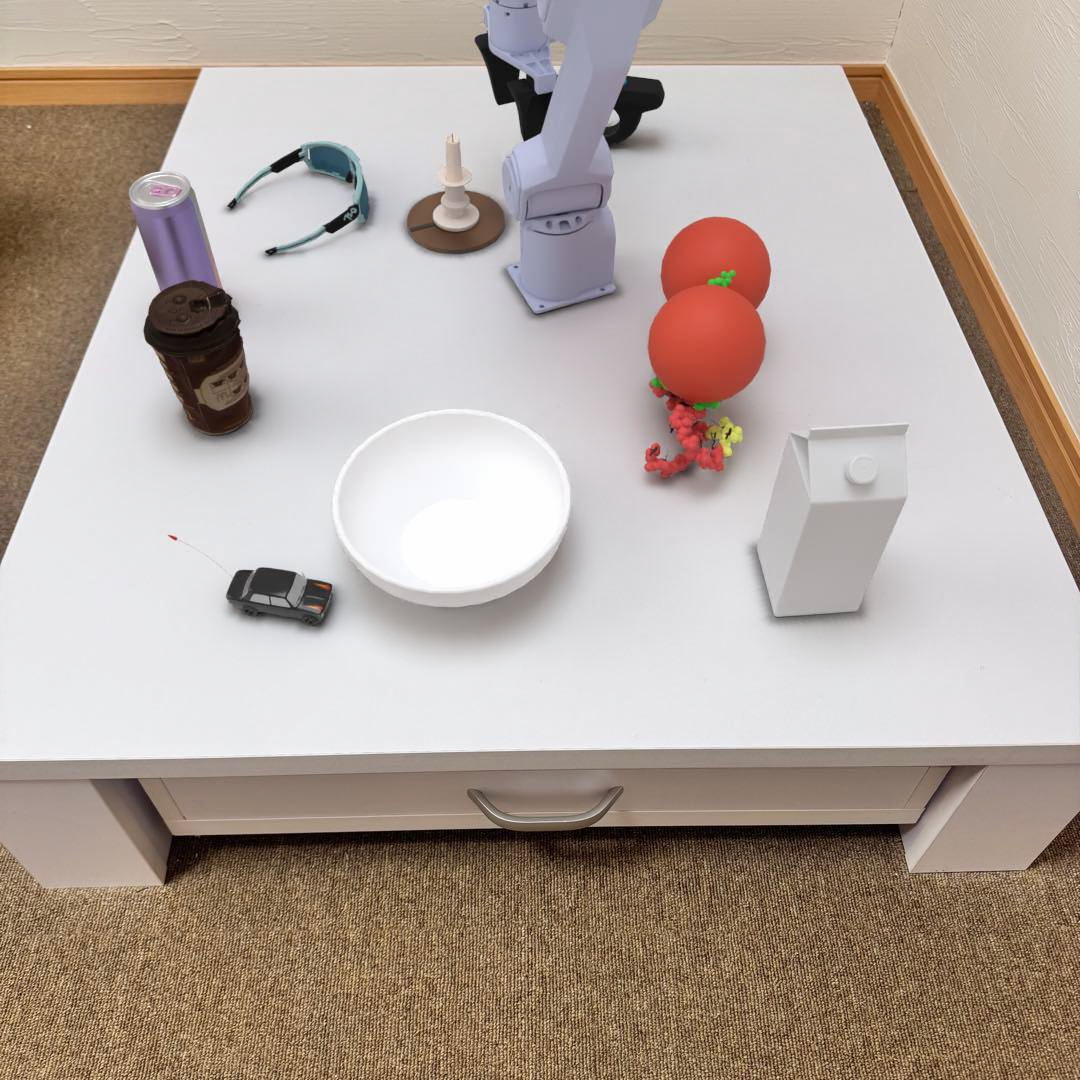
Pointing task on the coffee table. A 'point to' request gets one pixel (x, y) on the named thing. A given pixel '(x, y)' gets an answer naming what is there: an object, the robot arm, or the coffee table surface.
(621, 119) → the controller
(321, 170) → the sunglasses
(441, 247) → the coaster
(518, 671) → the coffee table surface
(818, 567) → the milk carton
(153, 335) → the coffee cup
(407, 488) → the bowl
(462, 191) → the candle
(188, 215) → the beverage can
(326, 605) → the toy car
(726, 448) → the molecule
